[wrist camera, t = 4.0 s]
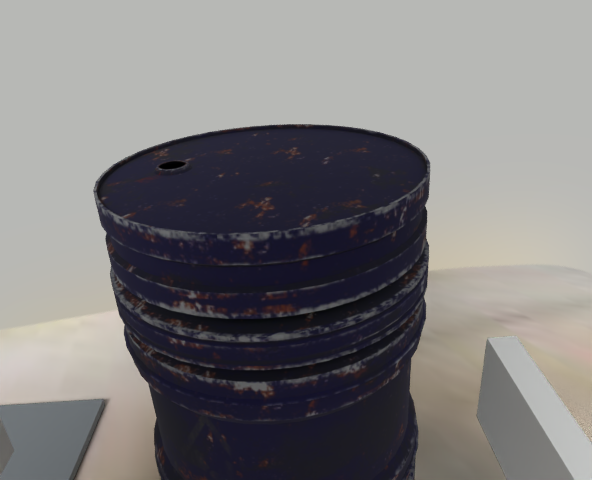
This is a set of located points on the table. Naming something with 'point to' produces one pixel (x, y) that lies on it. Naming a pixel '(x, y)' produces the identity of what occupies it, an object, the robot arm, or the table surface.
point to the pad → (48, 438)
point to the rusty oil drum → (273, 298)
